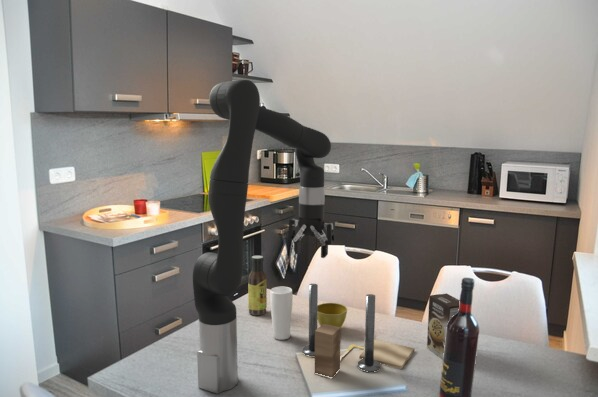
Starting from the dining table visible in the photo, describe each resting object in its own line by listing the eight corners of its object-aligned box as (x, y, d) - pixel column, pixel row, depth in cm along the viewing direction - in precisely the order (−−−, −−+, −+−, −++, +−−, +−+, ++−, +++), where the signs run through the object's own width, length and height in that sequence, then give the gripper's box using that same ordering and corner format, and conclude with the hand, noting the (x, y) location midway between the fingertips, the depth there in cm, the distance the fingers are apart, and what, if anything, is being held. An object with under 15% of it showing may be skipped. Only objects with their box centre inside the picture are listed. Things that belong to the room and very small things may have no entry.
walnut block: (331, 379, 122) (332, 334, 120) (314, 374, 125) (314, 330, 123) (340, 370, 127) (340, 327, 125) (323, 365, 129) (323, 323, 127)
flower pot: (319, 321, 158) (319, 301, 156) (349, 325, 155) (349, 304, 154) (311, 334, 148) (311, 312, 147) (343, 338, 145) (344, 316, 144)
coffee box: (425, 348, 139) (428, 295, 137) (444, 344, 141) (446, 292, 139) (445, 362, 131) (448, 306, 128) (464, 358, 133) (468, 303, 131)
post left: (317, 359, 133) (318, 290, 129) (298, 353, 136) (298, 286, 132) (327, 350, 138) (327, 283, 135) (308, 345, 141) (309, 280, 138)
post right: (375, 374, 124) (377, 301, 121) (354, 368, 127) (355, 297, 124) (383, 364, 130) (385, 294, 126) (362, 359, 132) (364, 290, 129)
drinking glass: (293, 332, 149) (293, 286, 147) (291, 342, 143) (291, 294, 140) (272, 331, 150) (271, 285, 148) (268, 341, 143) (268, 293, 141)
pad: (401, 369, 127) (401, 366, 127) (359, 358, 133) (359, 355, 133) (414, 350, 137) (414, 348, 137) (374, 341, 143) (374, 339, 143)
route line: (351, 367, 128) (351, 366, 128) (334, 362, 131) (334, 361, 131) (367, 349, 139) (367, 348, 138) (351, 345, 141) (352, 344, 141)
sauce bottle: (262, 317, 161) (262, 260, 158) (245, 315, 163) (244, 258, 160) (269, 310, 167) (268, 255, 164) (252, 308, 169) (251, 253, 166)
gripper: (284, 201, 140) (283, 255, 143) (328, 205, 134) (327, 261, 136) (296, 198, 147) (295, 249, 149) (339, 202, 140) (337, 255, 143)
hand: (310, 255), depth 143 cm, fingers open, 8 cm apart
